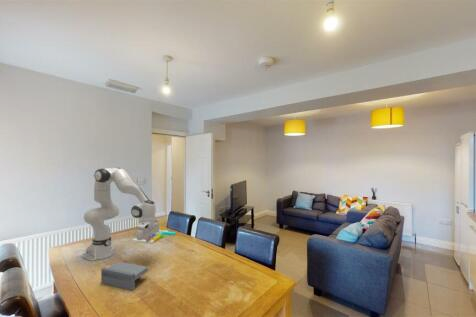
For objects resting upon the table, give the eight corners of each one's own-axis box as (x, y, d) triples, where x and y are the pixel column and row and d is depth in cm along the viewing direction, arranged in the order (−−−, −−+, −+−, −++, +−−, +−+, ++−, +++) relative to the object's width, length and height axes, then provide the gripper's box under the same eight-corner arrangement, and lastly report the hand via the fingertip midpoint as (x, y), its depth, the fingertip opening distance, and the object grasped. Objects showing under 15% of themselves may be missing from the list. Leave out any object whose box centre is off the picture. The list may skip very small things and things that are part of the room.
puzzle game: (131, 243, 197) (161, 245, 191) (131, 239, 197) (161, 242, 191) (151, 232, 227) (177, 234, 221) (151, 229, 227) (177, 231, 221)
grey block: (101, 283, 133) (101, 268, 133) (118, 272, 145) (118, 259, 145) (132, 290, 125) (132, 275, 125) (147, 278, 138) (147, 264, 138)
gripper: (154, 218, 167) (154, 236, 167) (134, 226, 147) (134, 246, 147) (161, 219, 165) (161, 237, 165) (142, 227, 145) (141, 248, 145)
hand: (148, 241), depth 156 cm, fingers closed
